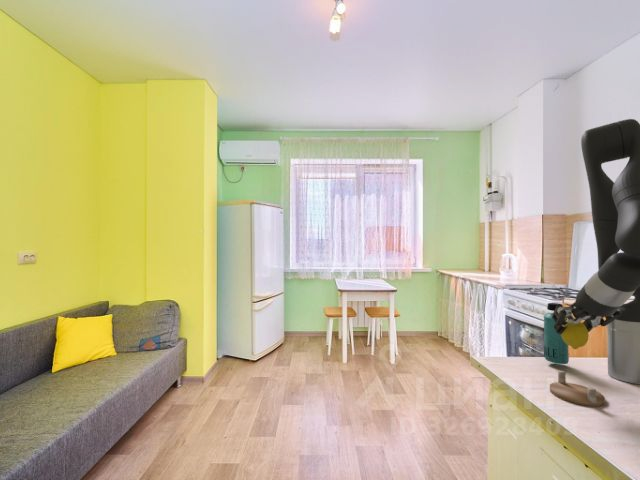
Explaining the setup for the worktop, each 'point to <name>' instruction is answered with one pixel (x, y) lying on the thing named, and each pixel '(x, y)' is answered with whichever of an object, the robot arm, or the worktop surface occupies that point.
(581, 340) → the lemon
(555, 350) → the beverage bottle
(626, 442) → the worktop surface
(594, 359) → the worktop surface
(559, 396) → the pin dish
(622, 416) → the worktop surface
